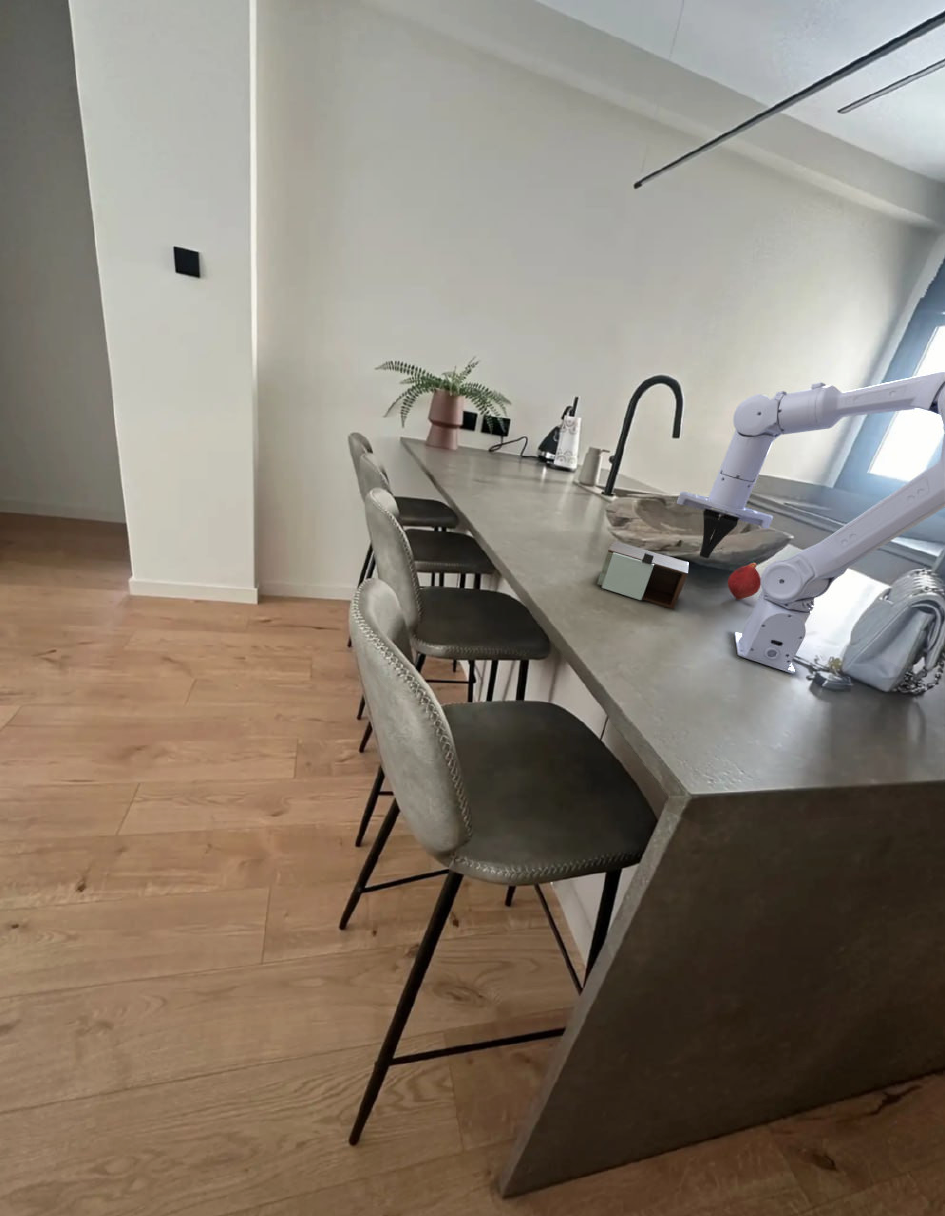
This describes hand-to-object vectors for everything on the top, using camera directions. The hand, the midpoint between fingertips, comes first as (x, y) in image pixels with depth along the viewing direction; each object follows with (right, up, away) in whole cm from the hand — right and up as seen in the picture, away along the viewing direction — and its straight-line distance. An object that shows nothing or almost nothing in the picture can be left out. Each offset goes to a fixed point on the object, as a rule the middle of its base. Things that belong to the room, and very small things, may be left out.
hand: (703, 556), depth 90 cm
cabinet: (-9, -6, +9) cm, 14 cm away
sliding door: (-13, -6, +5) cm, 15 cm away
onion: (+14, -7, +17) cm, 23 cm away
